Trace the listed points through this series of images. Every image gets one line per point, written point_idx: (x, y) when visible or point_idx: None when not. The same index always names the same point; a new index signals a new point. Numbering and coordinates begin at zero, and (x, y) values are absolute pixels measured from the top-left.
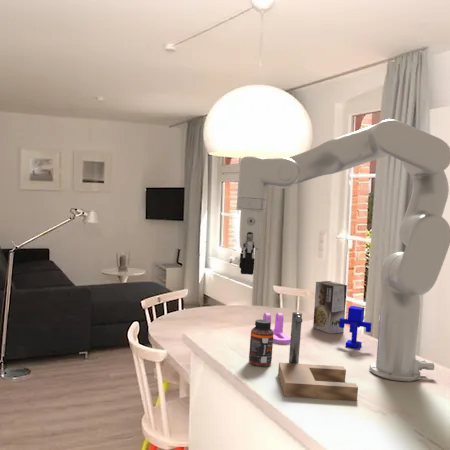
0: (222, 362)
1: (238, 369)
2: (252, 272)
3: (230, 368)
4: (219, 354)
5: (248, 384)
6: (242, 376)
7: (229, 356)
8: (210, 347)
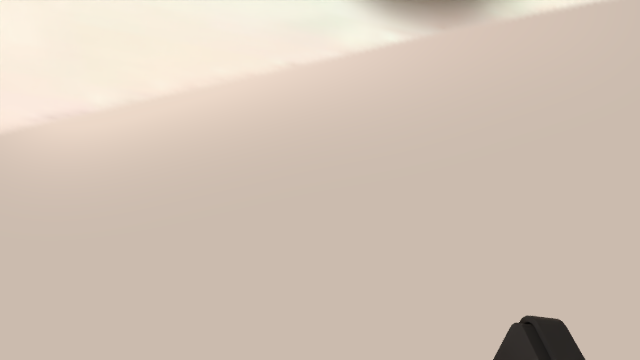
0: (255, 62)
1: (356, 7)
2: (566, 345)
3: (340, 42)
4: (128, 54)
5: (546, 6)
6: (449, 10)
7: (155, 9)
8: (11, 80)
